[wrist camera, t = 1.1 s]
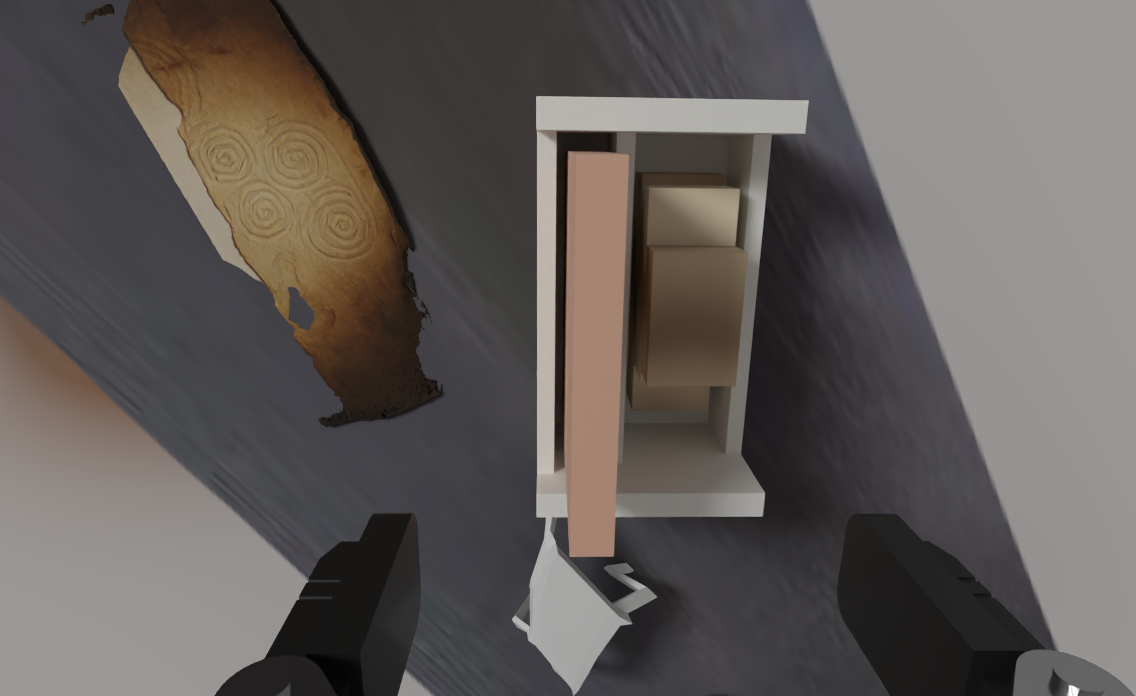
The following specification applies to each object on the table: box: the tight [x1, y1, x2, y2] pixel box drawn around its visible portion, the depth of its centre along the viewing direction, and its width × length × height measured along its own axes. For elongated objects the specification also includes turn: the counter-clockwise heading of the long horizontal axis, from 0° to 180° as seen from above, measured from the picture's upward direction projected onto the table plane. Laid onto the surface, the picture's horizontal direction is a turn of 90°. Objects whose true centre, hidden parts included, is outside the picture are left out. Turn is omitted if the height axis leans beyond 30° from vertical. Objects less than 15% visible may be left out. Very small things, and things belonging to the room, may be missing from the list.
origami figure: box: [512, 517, 657, 696], centre depth 39 cm, size 12×8×5 cm
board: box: [562, 150, 629, 557], centre depth 29 cm, size 14×2×14 cm, turn 179°
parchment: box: [81, 0, 442, 427], centre depth 35 cm, size 25×10×1 cm, turn 23°
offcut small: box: [641, 245, 748, 386], centre depth 30 cm, size 6×4×2 cm, turn 179°
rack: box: [536, 96, 809, 517], centre depth 32 cm, size 18×10×9 cm, turn 179°
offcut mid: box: [634, 185, 740, 382], centre depth 32 cm, size 9×4×2 cm, turn 179°
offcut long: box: [627, 172, 727, 410], centre depth 35 cm, size 12×4×2 cm, turn 179°
